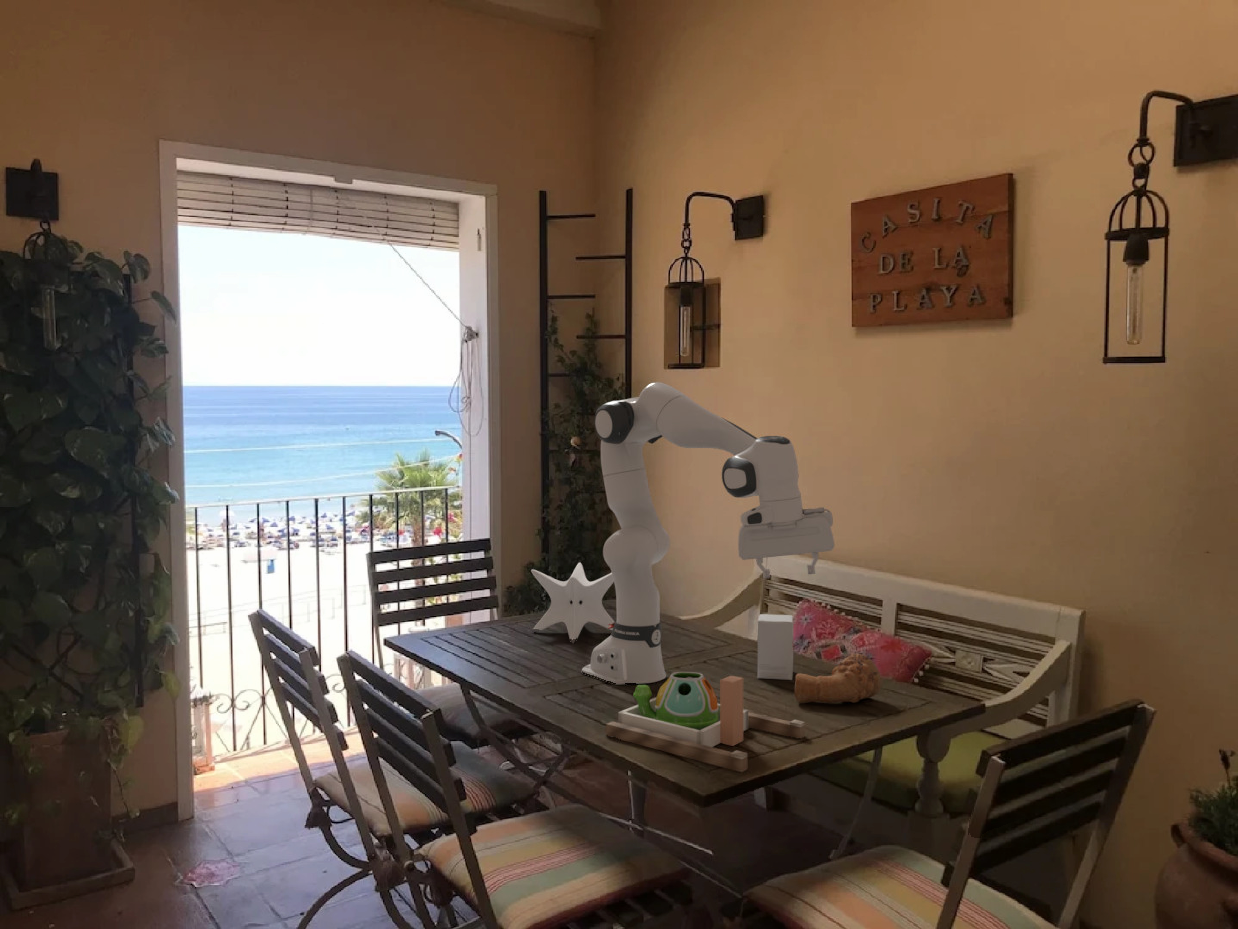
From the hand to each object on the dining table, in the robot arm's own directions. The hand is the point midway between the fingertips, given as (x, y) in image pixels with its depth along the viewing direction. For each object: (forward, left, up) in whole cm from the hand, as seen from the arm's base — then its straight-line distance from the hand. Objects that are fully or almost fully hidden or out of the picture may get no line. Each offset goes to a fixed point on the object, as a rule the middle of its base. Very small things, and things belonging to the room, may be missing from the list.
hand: (789, 575), depth 199 cm
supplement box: (-22, +34, -33) cm, 52 cm away
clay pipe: (0, +24, -33) cm, 41 cm away
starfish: (-94, +38, -33) cm, 107 cm away
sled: (-15, -16, -32) cm, 39 cm away
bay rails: (-11, -16, -33) cm, 38 cm away
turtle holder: (-17, -16, -33) cm, 41 cm away
